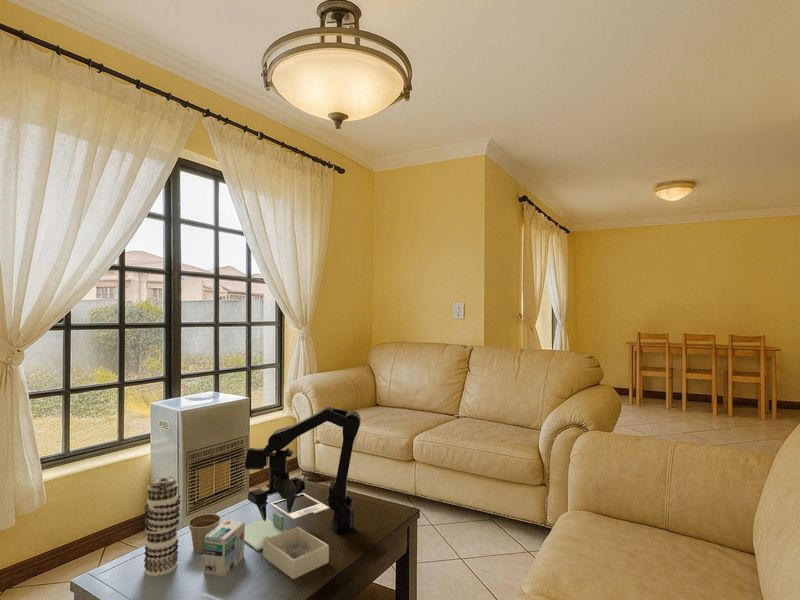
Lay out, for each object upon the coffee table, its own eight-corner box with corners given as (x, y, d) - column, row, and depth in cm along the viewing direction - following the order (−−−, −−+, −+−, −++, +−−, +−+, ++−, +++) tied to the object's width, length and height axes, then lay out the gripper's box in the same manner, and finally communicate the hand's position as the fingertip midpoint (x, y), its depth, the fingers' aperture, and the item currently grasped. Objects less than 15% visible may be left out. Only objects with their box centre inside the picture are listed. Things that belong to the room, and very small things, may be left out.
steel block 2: (294, 561, 135) (294, 552, 135) (305, 564, 134) (305, 555, 134) (285, 567, 132) (285, 559, 132) (296, 571, 130) (297, 562, 130)
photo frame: (295, 518, 162) (269, 502, 175) (294, 522, 162) (269, 505, 175) (329, 506, 172) (303, 492, 185) (329, 509, 172) (303, 495, 185)
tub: (297, 544, 146) (298, 526, 146) (328, 564, 135) (328, 545, 135) (263, 558, 137) (263, 540, 137) (293, 581, 126) (293, 561, 126)
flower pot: (195, 560, 136) (196, 530, 136) (182, 548, 142) (182, 520, 143) (225, 548, 143) (226, 520, 143) (211, 537, 149) (212, 510, 149)
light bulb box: (224, 578, 127) (225, 539, 127) (202, 575, 128) (203, 536, 129) (245, 558, 137) (245, 521, 138) (224, 555, 139) (225, 519, 139)
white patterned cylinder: (186, 561, 135) (188, 475, 136) (163, 579, 126) (165, 487, 127) (159, 556, 138) (161, 472, 138) (135, 574, 128) (137, 483, 129)
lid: (266, 522, 161) (267, 506, 161) (293, 539, 149) (293, 522, 149) (232, 534, 152) (232, 517, 152) (257, 553, 140) (257, 535, 140)
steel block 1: (297, 548, 142) (297, 539, 142) (305, 553, 140) (305, 544, 140) (286, 552, 140) (286, 544, 140) (293, 558, 137) (293, 549, 137)
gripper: (264, 483, 142) (263, 534, 142) (315, 468, 156) (314, 515, 155) (247, 473, 150) (246, 522, 150) (296, 460, 163) (295, 505, 163)
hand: (276, 516), depth 154 cm, fingers open, 9 cm apart
